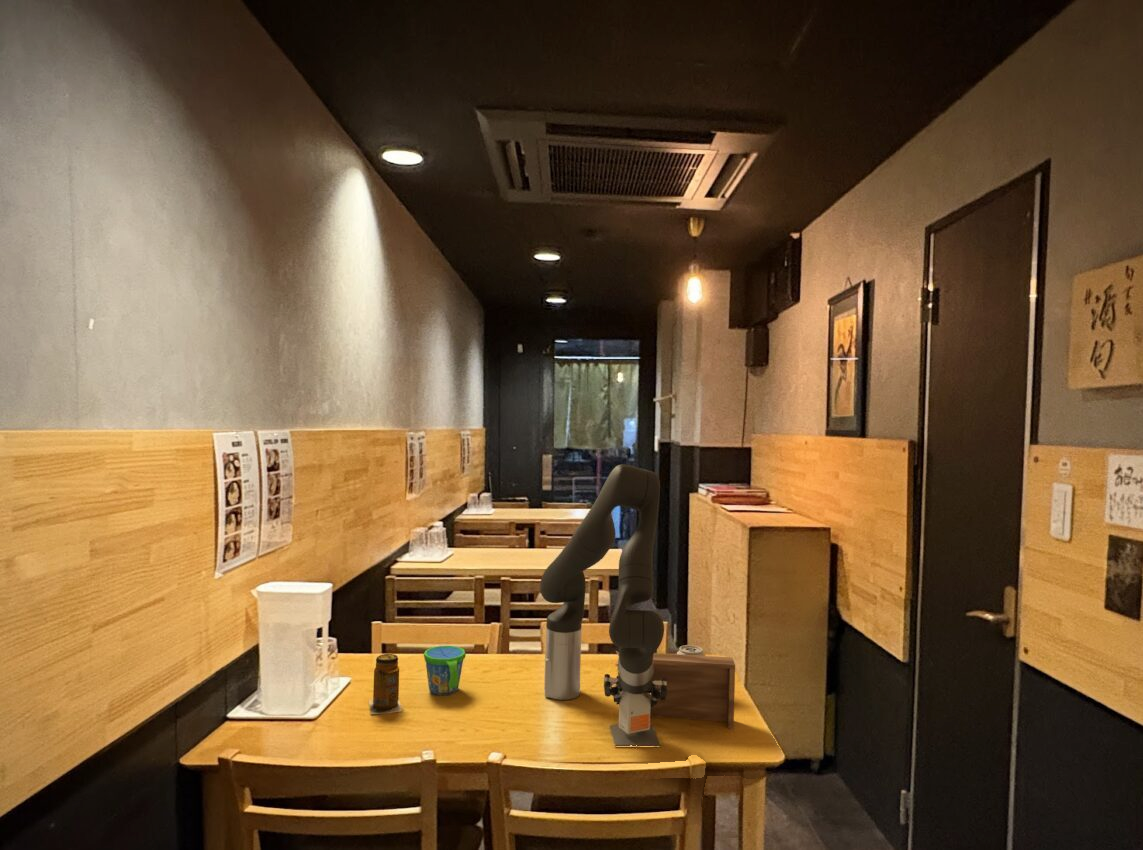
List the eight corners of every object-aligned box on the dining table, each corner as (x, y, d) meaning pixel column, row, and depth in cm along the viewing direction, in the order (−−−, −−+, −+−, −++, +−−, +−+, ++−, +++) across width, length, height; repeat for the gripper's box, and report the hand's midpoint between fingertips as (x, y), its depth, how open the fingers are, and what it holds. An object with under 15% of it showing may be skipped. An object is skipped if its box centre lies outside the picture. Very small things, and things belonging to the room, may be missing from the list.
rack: (733, 728, 158) (735, 664, 158) (637, 721, 160) (639, 658, 160) (730, 719, 163) (732, 657, 163) (637, 713, 165) (639, 652, 165)
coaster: (615, 747, 147) (615, 744, 147) (609, 727, 157) (609, 724, 157) (660, 747, 148) (660, 744, 148) (651, 726, 158) (651, 724, 158)
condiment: (398, 698, 171) (400, 651, 171) (402, 712, 163) (403, 662, 163) (368, 701, 168) (370, 653, 168) (371, 715, 160) (372, 665, 160)
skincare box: (628, 735, 149) (629, 680, 149) (618, 727, 153) (619, 674, 153) (651, 730, 152) (652, 676, 152) (640, 722, 156) (641, 670, 156)
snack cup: (471, 699, 171) (472, 659, 171) (429, 705, 167) (430, 664, 167) (456, 677, 186) (457, 640, 186) (418, 682, 181) (419, 644, 181)
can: (702, 688, 182) (704, 644, 182) (705, 699, 175) (706, 653, 175) (675, 687, 183) (676, 642, 183) (676, 698, 175) (677, 651, 175)
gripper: (669, 653, 144) (666, 687, 156) (602, 649, 146) (604, 683, 157) (670, 687, 139) (666, 720, 150) (600, 683, 141) (602, 715, 152)
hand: (635, 701), depth 154 cm, fingers closed on skincare box, 7 cm apart
